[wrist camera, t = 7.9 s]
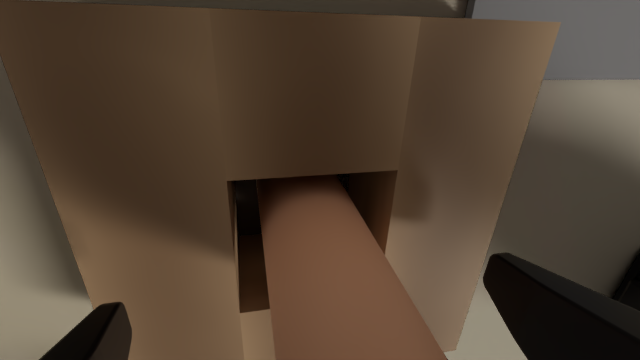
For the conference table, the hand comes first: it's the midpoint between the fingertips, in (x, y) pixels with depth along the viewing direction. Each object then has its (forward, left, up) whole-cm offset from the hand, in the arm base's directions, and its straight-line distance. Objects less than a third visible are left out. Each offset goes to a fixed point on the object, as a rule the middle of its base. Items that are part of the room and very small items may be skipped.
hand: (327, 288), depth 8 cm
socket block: (0, 0, -6) cm, 6 cm away
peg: (0, 0, -6) cm, 6 cm away
